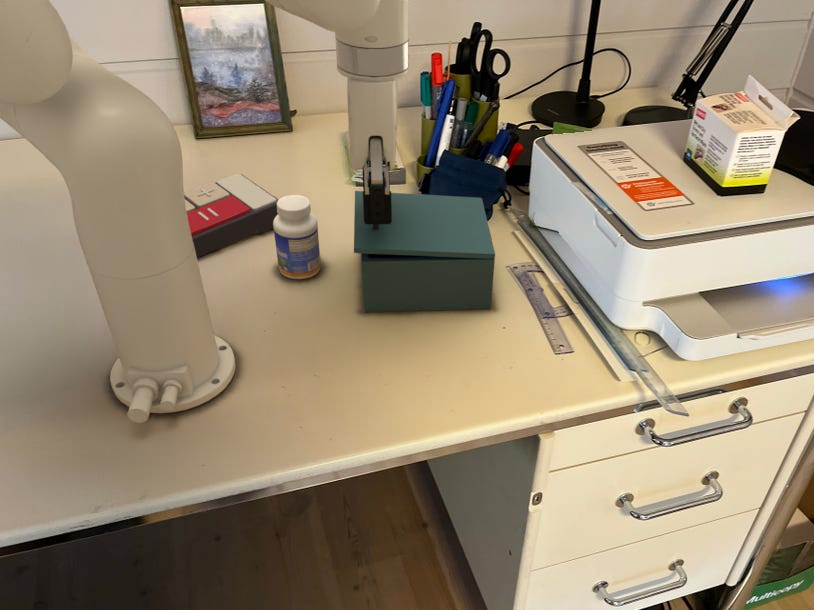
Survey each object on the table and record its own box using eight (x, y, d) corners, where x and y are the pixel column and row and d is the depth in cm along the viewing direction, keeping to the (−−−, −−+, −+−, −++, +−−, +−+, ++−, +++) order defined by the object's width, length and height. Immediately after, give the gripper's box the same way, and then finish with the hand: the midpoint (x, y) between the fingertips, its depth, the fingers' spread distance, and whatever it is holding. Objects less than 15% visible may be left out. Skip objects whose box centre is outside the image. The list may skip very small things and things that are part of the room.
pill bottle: (275, 261, 99) (265, 194, 92) (316, 254, 100) (309, 188, 94) (284, 284, 95) (274, 216, 89) (326, 276, 97) (319, 209, 90)
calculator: (140, 204, 101) (239, 167, 109) (149, 231, 104) (245, 194, 111) (180, 238, 95) (281, 196, 103) (188, 266, 98) (286, 223, 106)
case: (364, 312, 91) (361, 261, 87) (364, 252, 102) (361, 203, 97) (490, 309, 93) (494, 259, 89) (478, 250, 104) (481, 202, 99)
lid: (353, 253, 86) (354, 210, 82) (354, 195, 96) (355, 155, 92) (494, 259, 89) (501, 218, 85) (481, 202, 99) (486, 163, 95)
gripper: (337, 28, 84) (346, 176, 96) (334, 85, 71) (344, 248, 83) (404, 30, 85) (405, 176, 97) (413, 86, 72) (412, 247, 84)
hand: (377, 208), depth 90 cm, fingers closed on lid, 5 cm apart
